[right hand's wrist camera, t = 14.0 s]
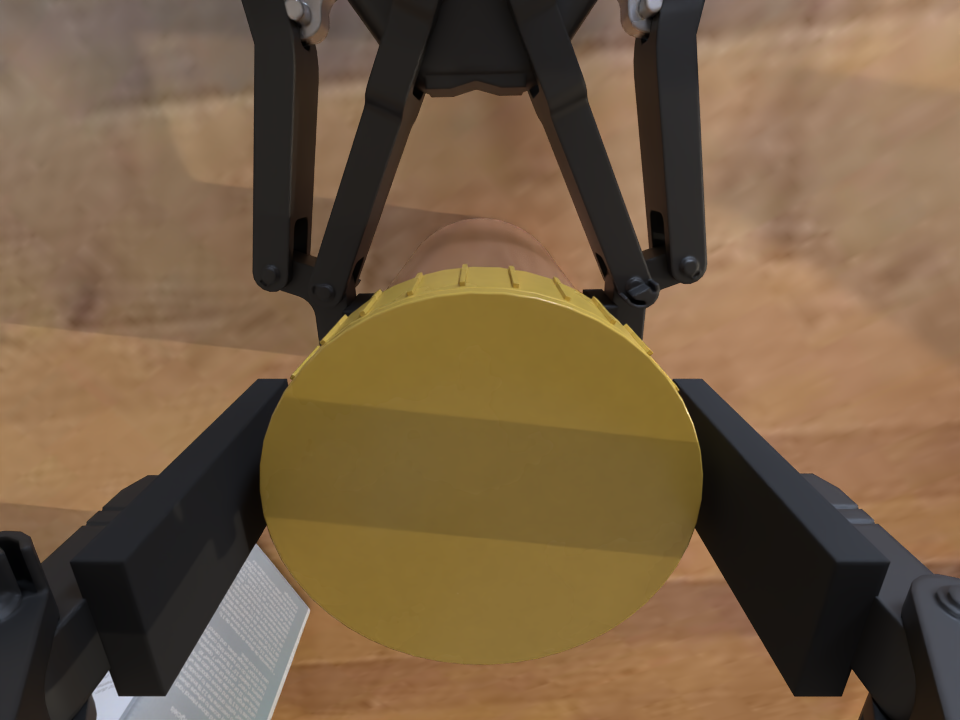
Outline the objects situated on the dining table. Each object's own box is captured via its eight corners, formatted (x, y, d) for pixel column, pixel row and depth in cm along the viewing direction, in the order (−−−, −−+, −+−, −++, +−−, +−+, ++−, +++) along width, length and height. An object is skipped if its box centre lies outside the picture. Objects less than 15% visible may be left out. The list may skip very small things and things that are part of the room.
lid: (708, 282, 11) (764, 311, 9) (628, 600, 14) (654, 679, 12) (286, 244, 11) (237, 265, 9) (302, 578, 14) (269, 655, 12)
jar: (573, 225, 25) (721, 325, 9) (550, 381, 28) (634, 648, 12) (402, 210, 24) (274, 287, 9) (397, 369, 27) (293, 626, 12)
